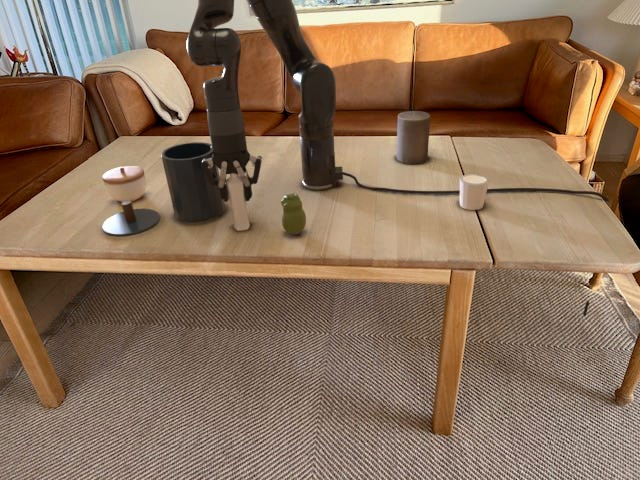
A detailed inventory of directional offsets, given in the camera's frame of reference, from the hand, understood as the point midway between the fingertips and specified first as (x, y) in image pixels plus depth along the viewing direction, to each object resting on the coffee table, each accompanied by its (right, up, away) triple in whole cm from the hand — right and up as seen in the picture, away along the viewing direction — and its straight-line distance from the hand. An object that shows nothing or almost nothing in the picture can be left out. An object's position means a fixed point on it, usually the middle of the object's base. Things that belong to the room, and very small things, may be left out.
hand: (237, 199), depth 112 cm
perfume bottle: (0, -6, +4) cm, 8 cm away
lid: (-28, -5, +7) cm, 29 cm away
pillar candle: (+48, +16, +38) cm, 63 cm away
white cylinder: (+57, -1, +8) cm, 58 cm away
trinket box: (-34, +2, +22) cm, 40 cm away
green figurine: (+13, -8, 0) cm, 16 cm away
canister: (-12, -2, +12) cm, 17 cm away
